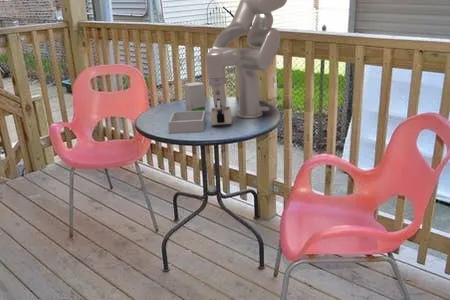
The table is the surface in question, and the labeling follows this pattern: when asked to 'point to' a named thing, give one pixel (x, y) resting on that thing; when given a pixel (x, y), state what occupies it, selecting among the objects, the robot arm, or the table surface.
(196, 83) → the skincare box
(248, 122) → the table surface
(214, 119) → the small crate
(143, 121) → the table surface
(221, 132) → the table surface
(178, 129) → the base crate
